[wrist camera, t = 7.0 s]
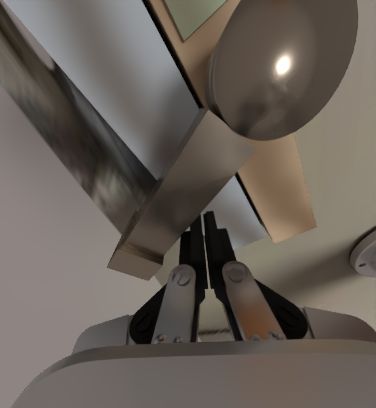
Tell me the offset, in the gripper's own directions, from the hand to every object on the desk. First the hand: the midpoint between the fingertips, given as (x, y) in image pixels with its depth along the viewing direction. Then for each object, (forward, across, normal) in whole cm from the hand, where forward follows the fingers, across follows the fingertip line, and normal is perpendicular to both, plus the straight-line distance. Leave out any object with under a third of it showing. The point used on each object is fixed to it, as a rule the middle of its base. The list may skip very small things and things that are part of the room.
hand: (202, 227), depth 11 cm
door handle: (+1, +1, -4) cm, 5 cm away
